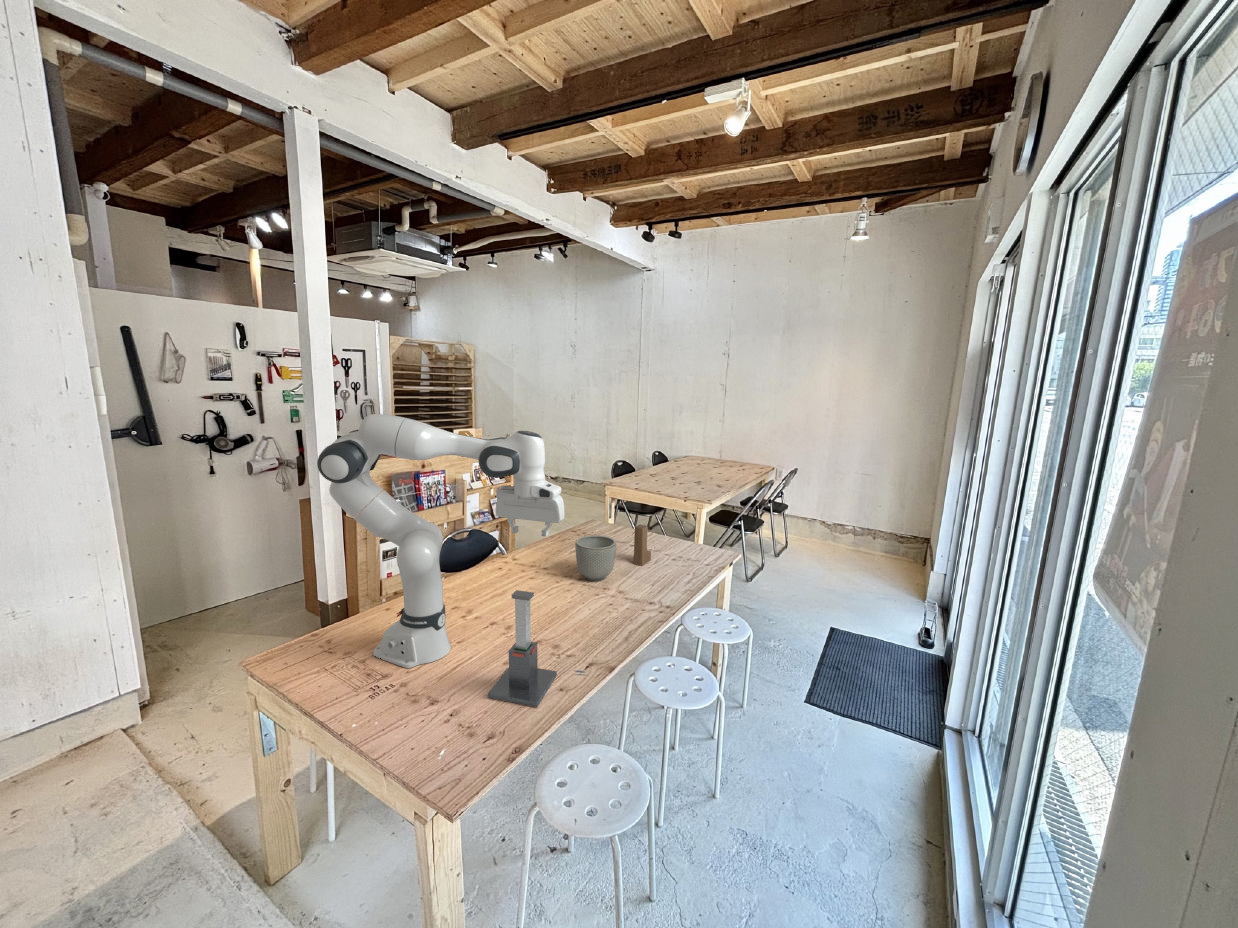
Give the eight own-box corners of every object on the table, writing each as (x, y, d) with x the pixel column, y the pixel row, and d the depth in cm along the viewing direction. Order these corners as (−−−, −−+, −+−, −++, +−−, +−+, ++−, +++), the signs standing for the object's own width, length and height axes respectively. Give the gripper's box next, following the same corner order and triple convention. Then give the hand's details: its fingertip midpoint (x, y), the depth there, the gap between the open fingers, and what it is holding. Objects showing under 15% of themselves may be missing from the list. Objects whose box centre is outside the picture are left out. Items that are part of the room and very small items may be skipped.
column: (512, 663, 133) (511, 594, 130) (517, 657, 136) (516, 589, 133) (529, 666, 132) (528, 597, 128) (534, 660, 135) (533, 592, 132)
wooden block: (642, 558, 233) (643, 521, 230) (651, 560, 231) (652, 523, 227) (633, 564, 225) (634, 526, 222) (641, 566, 223) (643, 528, 220)
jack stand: (488, 697, 130) (487, 656, 128) (511, 668, 144) (511, 630, 142) (537, 707, 127) (537, 665, 125) (556, 675, 141) (556, 637, 138)
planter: (614, 586, 201) (615, 549, 198) (572, 585, 201) (573, 547, 198) (615, 570, 218) (616, 535, 215) (577, 568, 218) (577, 534, 215)
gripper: (491, 487, 140) (492, 533, 142) (558, 493, 135) (558, 541, 137) (501, 482, 146) (502, 527, 148) (566, 488, 141) (566, 534, 143)
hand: (529, 534), depth 143 cm, fingers open, 8 cm apart
